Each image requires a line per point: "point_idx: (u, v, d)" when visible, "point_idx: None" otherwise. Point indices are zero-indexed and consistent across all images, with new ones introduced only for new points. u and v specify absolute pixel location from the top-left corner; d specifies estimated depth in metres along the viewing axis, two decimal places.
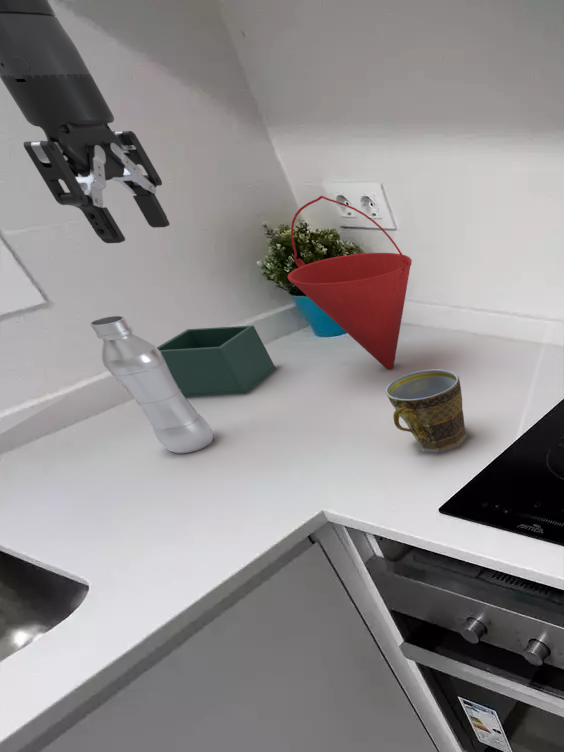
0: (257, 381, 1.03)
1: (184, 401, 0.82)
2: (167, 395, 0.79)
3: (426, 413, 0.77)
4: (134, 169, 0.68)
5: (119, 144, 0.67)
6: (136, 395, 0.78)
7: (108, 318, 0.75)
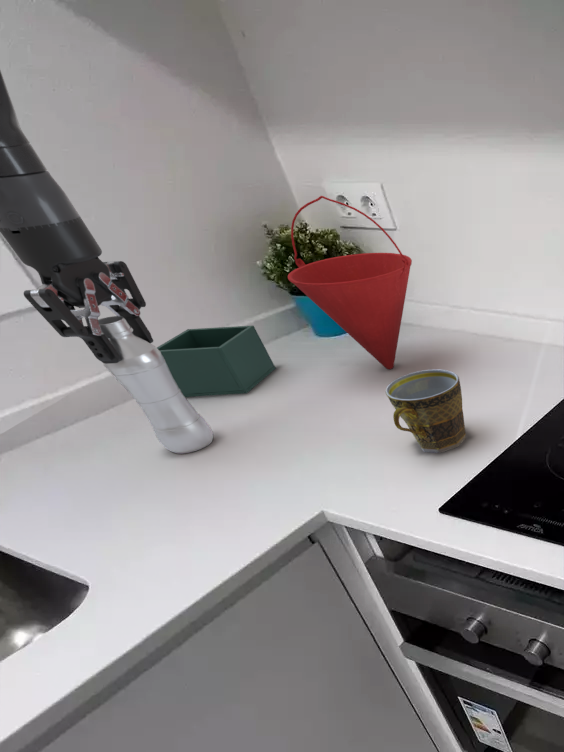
0: (257, 381, 1.03)
1: (184, 401, 0.82)
2: (167, 395, 0.79)
3: (426, 413, 0.77)
4: (120, 295, 0.74)
5: (107, 270, 0.73)
6: (136, 395, 0.78)
7: (108, 318, 0.75)
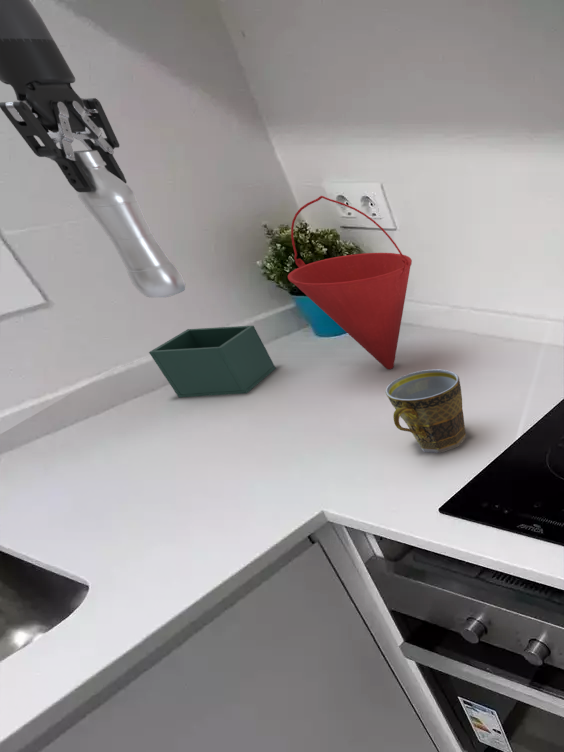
0: (257, 381, 1.03)
1: (156, 244, 0.86)
2: (140, 235, 0.84)
3: (426, 413, 0.77)
4: (93, 128, 0.78)
5: (81, 103, 0.77)
6: (109, 230, 0.82)
7: (82, 151, 0.79)
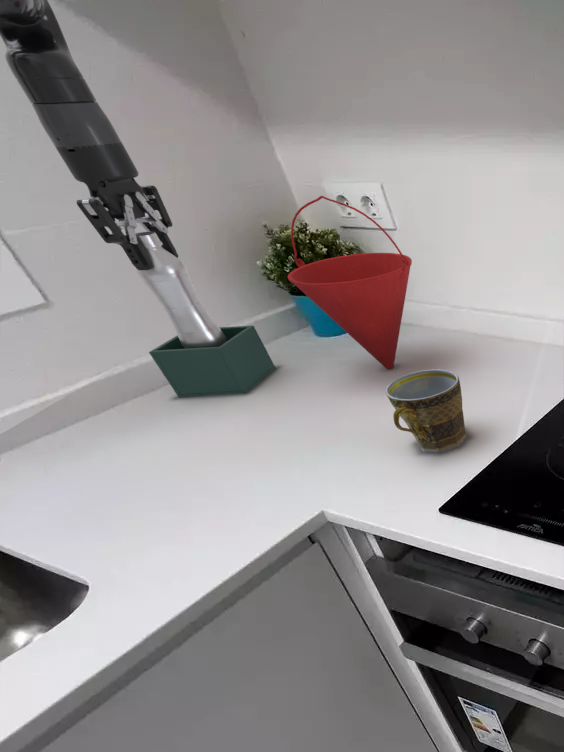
0: (257, 381, 1.03)
1: (204, 310, 0.96)
2: (190, 303, 0.94)
3: (426, 413, 0.77)
4: (152, 213, 0.88)
5: (142, 191, 0.87)
6: (164, 301, 0.92)
7: (142, 233, 0.89)
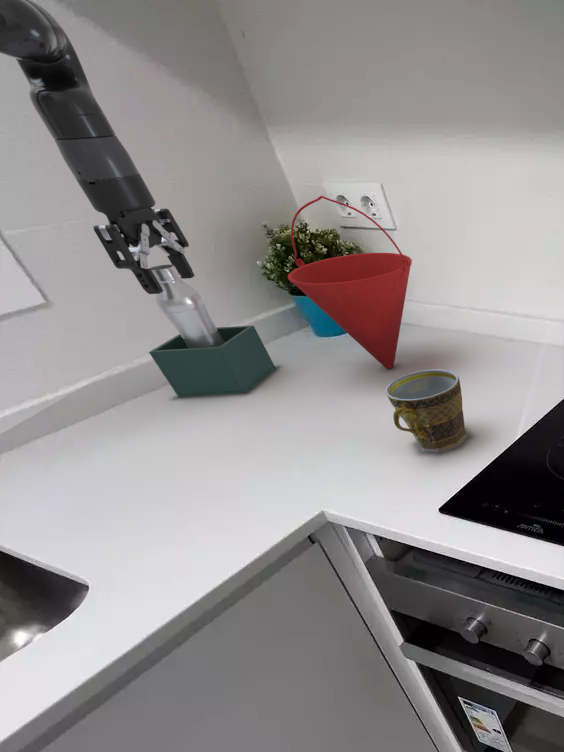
0: (257, 381, 1.03)
1: (220, 338, 0.99)
2: (207, 332, 0.97)
3: (426, 413, 0.77)
4: (169, 237, 0.91)
5: (158, 219, 0.90)
6: (182, 331, 0.95)
7: (161, 266, 0.92)
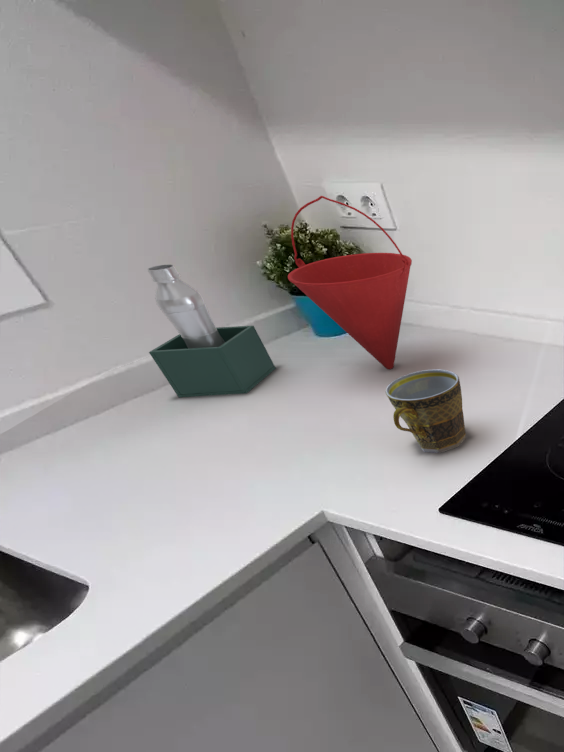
0: (257, 381, 1.03)
1: (220, 338, 0.99)
2: (207, 332, 0.97)
3: (426, 413, 0.77)
4: None
5: None
6: (182, 331, 0.95)
7: (161, 266, 0.92)
